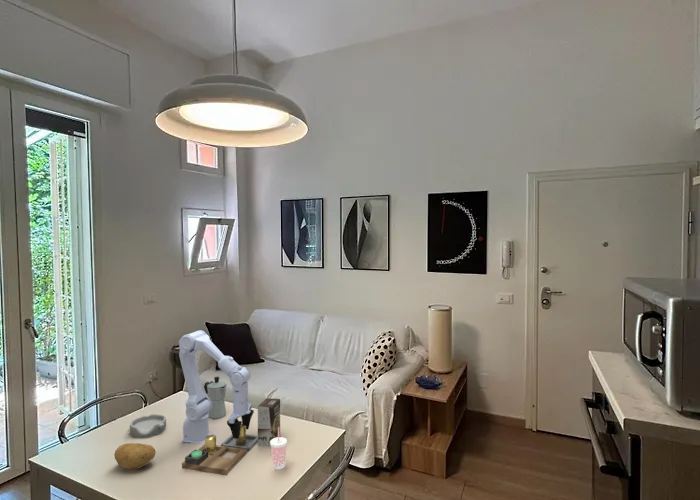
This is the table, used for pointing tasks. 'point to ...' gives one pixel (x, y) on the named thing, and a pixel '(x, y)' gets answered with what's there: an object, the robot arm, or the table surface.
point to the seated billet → (210, 444)
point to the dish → (148, 425)
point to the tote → (250, 442)
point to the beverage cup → (278, 451)
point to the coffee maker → (216, 398)
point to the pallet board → (214, 460)
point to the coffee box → (268, 421)
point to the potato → (134, 455)
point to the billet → (241, 436)
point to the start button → (196, 454)
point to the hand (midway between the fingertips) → (241, 433)
